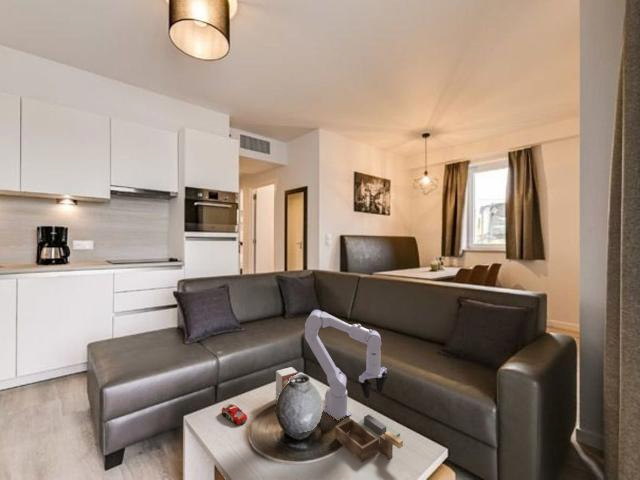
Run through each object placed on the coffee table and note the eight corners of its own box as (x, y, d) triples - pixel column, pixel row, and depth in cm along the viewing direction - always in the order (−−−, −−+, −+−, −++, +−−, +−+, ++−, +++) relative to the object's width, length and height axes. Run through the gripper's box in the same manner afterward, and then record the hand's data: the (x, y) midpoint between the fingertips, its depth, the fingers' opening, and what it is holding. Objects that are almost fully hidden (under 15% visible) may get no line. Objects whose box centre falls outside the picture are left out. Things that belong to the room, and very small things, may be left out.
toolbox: (335, 438, 111) (335, 423, 111) (354, 428, 117) (355, 413, 117) (371, 470, 97) (372, 452, 96) (392, 456, 103) (392, 440, 102)
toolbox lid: (354, 429, 117) (354, 416, 117) (372, 419, 123) (372, 407, 123) (381, 450, 106) (381, 435, 106) (400, 438, 112) (400, 425, 112)
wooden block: (384, 438, 103) (384, 432, 103) (388, 436, 104) (388, 430, 104) (399, 448, 98) (399, 442, 98) (402, 446, 99) (402, 440, 99)
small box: (281, 405, 132) (281, 376, 132) (275, 398, 137) (275, 370, 137) (297, 400, 136) (298, 371, 136) (291, 393, 142) (291, 366, 141)
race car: (249, 422, 121) (249, 412, 121) (237, 428, 117) (237, 418, 117) (231, 408, 130) (231, 399, 130) (219, 414, 126) (219, 404, 126)
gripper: (368, 370, 116) (367, 404, 117) (392, 360, 125) (392, 392, 125) (355, 363, 122) (355, 396, 122) (379, 354, 131) (379, 385, 131)
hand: (373, 394), depth 124 cm, fingers open, 7 cm apart
